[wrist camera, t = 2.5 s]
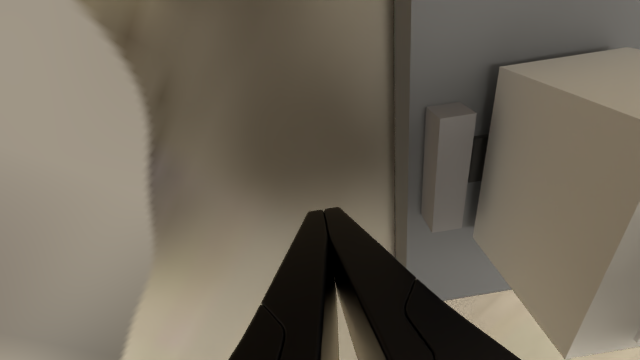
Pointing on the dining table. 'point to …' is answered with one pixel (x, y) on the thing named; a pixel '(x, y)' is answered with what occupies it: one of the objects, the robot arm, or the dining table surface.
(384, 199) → the dining table surface
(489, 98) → the grey fader track
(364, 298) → the robot arm
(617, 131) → the fader cap
